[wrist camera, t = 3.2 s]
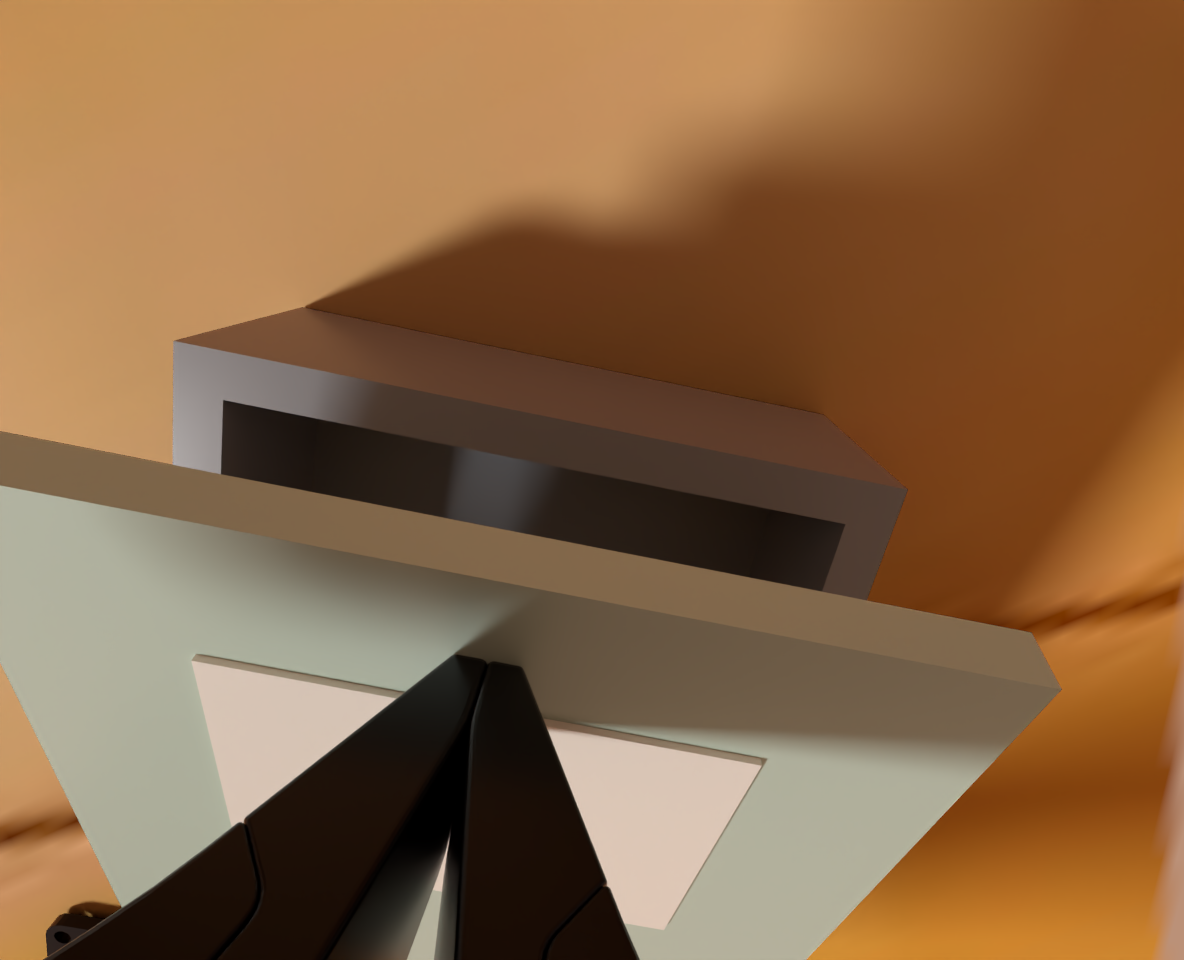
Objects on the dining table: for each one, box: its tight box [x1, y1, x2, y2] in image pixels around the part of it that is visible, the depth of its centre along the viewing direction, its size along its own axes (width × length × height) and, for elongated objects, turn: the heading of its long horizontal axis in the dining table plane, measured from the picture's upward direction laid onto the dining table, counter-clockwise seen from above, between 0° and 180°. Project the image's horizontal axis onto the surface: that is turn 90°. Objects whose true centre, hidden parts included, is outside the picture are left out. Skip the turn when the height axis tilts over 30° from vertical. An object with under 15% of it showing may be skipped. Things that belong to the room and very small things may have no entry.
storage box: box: [173, 307, 908, 600], centre depth 16 cm, size 12×12×5 cm
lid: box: [0, 431, 1062, 960], centre depth 11 cm, size 12×12×1 cm
